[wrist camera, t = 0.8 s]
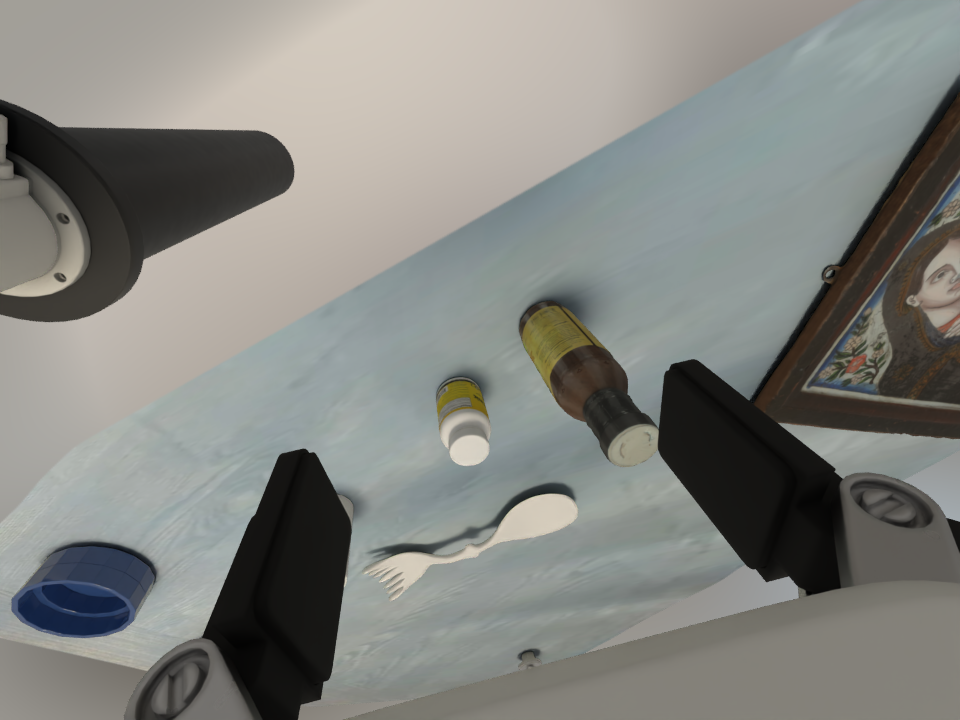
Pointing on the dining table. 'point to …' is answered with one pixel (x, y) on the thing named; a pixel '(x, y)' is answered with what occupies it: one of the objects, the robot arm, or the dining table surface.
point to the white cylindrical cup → (349, 510)
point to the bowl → (84, 592)
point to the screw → (529, 661)
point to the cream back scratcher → (517, 524)
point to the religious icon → (888, 315)
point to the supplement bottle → (463, 421)
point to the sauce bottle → (587, 382)
